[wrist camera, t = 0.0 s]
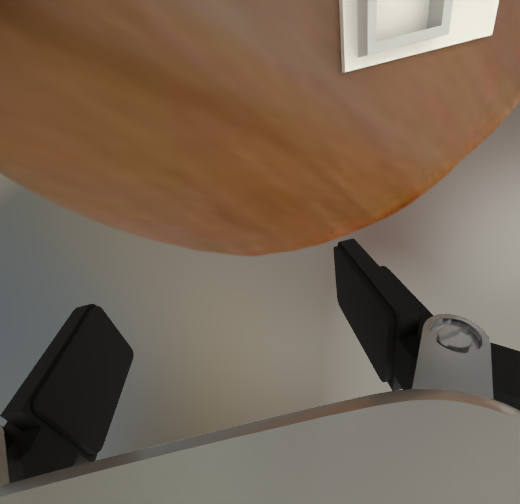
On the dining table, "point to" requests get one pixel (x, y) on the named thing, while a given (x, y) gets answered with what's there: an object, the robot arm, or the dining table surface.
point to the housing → (408, 27)
